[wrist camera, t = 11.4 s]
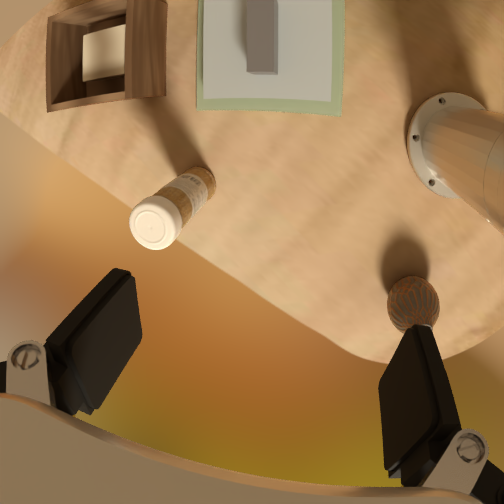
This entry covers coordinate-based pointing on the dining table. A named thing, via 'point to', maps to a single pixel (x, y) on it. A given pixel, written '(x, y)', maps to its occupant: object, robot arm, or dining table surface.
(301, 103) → the mat
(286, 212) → the dining table surface
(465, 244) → the dining table surface
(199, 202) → the sprinkles bottle
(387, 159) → the dining table surface
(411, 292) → the vase
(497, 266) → the dining table surface
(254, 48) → the lid
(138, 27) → the box
